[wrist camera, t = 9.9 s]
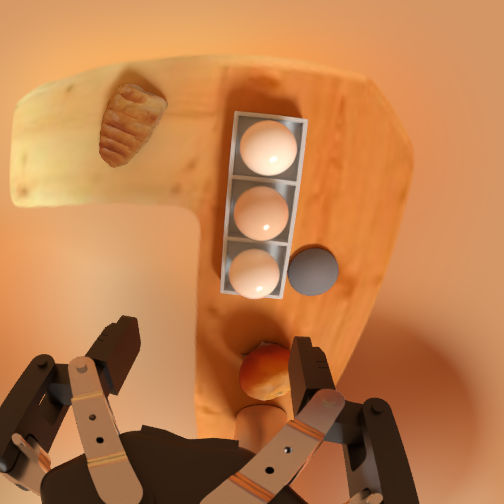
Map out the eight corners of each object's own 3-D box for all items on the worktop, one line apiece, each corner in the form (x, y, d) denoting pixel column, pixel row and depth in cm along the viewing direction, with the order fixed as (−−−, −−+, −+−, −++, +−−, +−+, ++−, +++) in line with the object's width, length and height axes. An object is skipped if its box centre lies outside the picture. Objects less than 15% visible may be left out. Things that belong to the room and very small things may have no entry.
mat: (331, 295, 33) (332, 297, 33) (284, 292, 33) (284, 293, 32) (342, 250, 31) (343, 252, 30) (292, 245, 31) (292, 246, 30)
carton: (280, 289, 33) (282, 299, 31) (222, 283, 33) (220, 292, 30) (304, 121, 26) (308, 119, 23) (236, 114, 26) (234, 111, 23)
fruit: (252, 326, 33) (281, 380, 28) (290, 331, 38) (317, 376, 33) (216, 361, 35) (238, 411, 30) (255, 362, 41) (277, 405, 35)
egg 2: (274, 286, 32) (277, 311, 27) (229, 281, 32) (224, 305, 27) (281, 244, 30) (285, 263, 25) (233, 239, 30) (228, 257, 25)
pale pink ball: (289, 186, 27) (295, 193, 23) (282, 234, 29) (287, 251, 24) (238, 180, 27) (233, 187, 23) (234, 229, 29) (228, 245, 24)
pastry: (137, 175, 28) (122, 179, 25) (94, 153, 27) (76, 155, 24) (174, 100, 25) (162, 94, 22) (127, 81, 24) (112, 75, 21)
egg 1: (290, 176, 27) (297, 182, 22) (239, 170, 27) (234, 175, 22) (295, 126, 25) (304, 121, 20) (244, 120, 25) (240, 114, 20)
